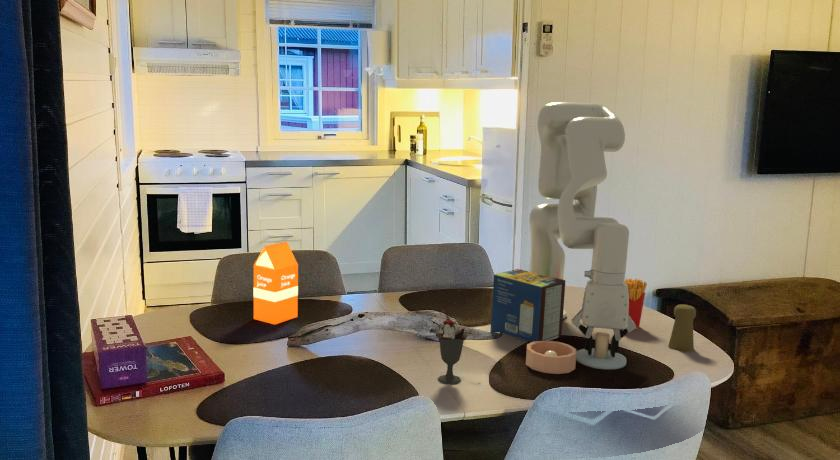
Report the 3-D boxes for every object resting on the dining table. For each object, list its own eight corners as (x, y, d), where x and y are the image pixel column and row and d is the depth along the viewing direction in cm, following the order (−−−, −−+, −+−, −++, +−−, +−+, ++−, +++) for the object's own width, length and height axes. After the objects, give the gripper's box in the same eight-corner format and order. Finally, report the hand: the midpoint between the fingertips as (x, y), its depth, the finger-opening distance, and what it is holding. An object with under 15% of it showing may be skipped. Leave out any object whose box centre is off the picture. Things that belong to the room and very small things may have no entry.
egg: (540, 364, 162) (541, 350, 162) (547, 360, 165) (548, 347, 164) (553, 368, 160) (554, 354, 160) (560, 364, 163) (561, 350, 162)
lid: (565, 360, 166) (568, 333, 165) (588, 348, 175) (590, 323, 173) (613, 374, 159) (615, 346, 157) (634, 360, 167) (636, 334, 166)
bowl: (516, 367, 162) (517, 348, 161) (540, 355, 170) (542, 337, 169) (559, 380, 155) (561, 361, 154) (583, 367, 163) (584, 348, 163)
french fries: (619, 330, 192) (623, 283, 189) (609, 325, 196) (613, 279, 193) (646, 327, 196) (650, 281, 193) (635, 322, 199) (639, 277, 197)
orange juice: (298, 316, 192) (298, 243, 189) (274, 324, 185) (275, 248, 182) (276, 311, 197) (276, 239, 193) (252, 318, 189) (252, 244, 186)
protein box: (514, 324, 194) (517, 268, 191) (562, 339, 183) (566, 280, 180) (489, 332, 186) (492, 273, 184) (537, 347, 176) (541, 286, 173)
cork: (695, 353, 176) (700, 310, 174) (670, 350, 177) (674, 307, 175) (691, 345, 182) (696, 303, 180) (666, 342, 183) (671, 301, 181)
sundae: (431, 374, 156) (434, 307, 153) (462, 374, 157) (466, 307, 154) (435, 385, 149) (438, 316, 147) (467, 386, 150) (470, 316, 147)
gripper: (570, 278, 161) (564, 356, 164) (648, 284, 158) (640, 363, 161) (568, 271, 168) (563, 345, 171) (643, 276, 165) (636, 352, 169)
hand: (600, 353), depth 166 cm, fingers open, 4 cm apart
